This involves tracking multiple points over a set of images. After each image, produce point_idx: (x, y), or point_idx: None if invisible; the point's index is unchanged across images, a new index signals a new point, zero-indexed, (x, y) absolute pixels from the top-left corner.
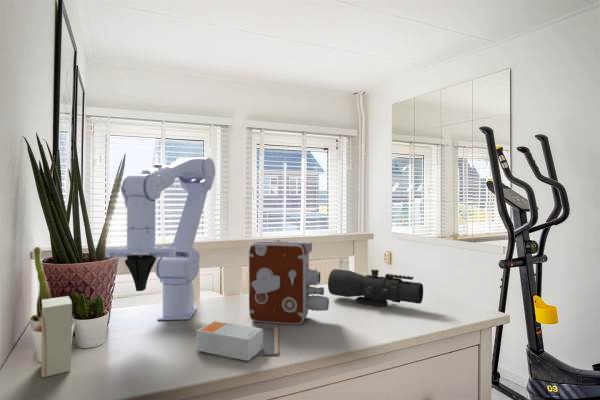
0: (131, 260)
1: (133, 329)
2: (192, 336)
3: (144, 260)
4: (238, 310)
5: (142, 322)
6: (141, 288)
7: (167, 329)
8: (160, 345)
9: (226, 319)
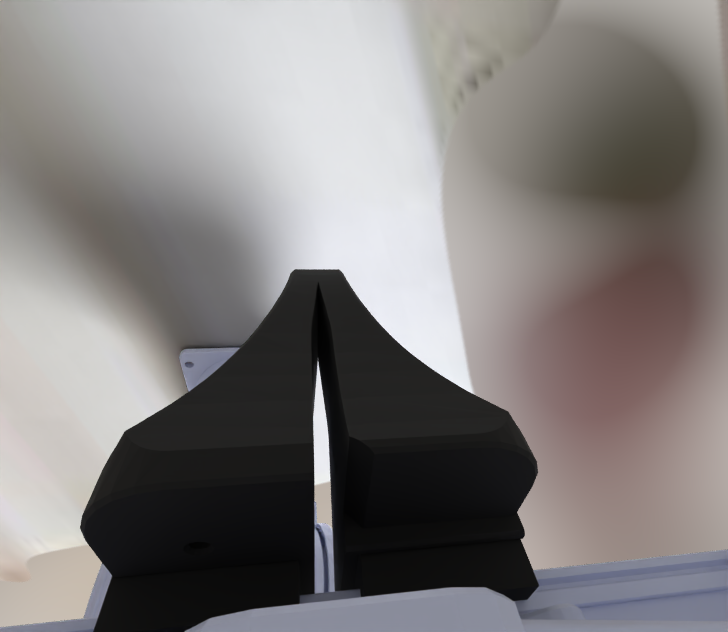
0: (433, 471)
1: (373, 269)
2: (58, 164)
3: (159, 466)
4: (21, 428)
5: None
6: (296, 275)
7: (229, 259)
8: (168, 56)
9: (13, 348)
